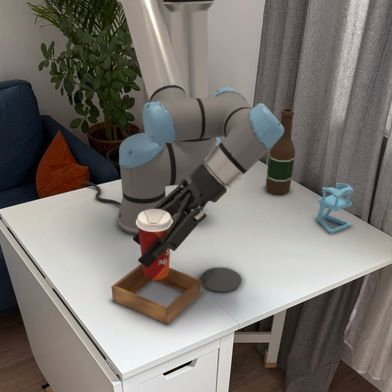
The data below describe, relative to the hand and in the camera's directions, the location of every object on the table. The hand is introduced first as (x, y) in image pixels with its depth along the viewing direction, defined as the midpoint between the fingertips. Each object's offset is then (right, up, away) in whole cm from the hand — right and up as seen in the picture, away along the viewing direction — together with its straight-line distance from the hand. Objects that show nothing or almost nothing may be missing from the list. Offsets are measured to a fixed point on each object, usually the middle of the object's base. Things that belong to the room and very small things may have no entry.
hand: (140, 252), depth 110 cm
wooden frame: (+3, -9, +9) cm, 13 cm away
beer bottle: (+38, +29, +51) cm, 70 cm away
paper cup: (+3, -4, +5) cm, 7 cm away
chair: (+50, +15, +36) cm, 64 cm away
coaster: (+18, -4, +14) cm, 23 cm away
